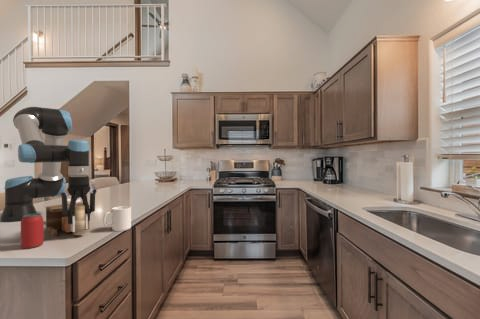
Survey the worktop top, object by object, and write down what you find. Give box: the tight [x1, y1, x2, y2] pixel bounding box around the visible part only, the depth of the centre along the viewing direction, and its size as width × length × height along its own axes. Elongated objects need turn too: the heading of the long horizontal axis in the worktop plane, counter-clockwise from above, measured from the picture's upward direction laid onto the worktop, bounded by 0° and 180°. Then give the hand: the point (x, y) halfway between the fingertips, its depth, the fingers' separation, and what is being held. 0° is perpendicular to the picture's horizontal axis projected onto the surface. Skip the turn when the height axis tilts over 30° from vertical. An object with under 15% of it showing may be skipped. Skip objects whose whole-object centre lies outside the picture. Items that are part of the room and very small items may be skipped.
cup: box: [102, 205, 132, 232], centre depth 115 cm, size 8×12×10 cm
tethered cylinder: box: [61, 205, 86, 236], centre depth 108 cm, size 14×6×12 cm, turn 52°
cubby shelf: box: [45, 201, 90, 238], centre depth 114 cm, size 11×14×12 cm
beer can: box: [20, 213, 44, 249], centre depth 94 cm, size 7×7×12 cm
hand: (79, 229), depth 105 cm, fingers closed on tethered cylinder, 4 cm apart
